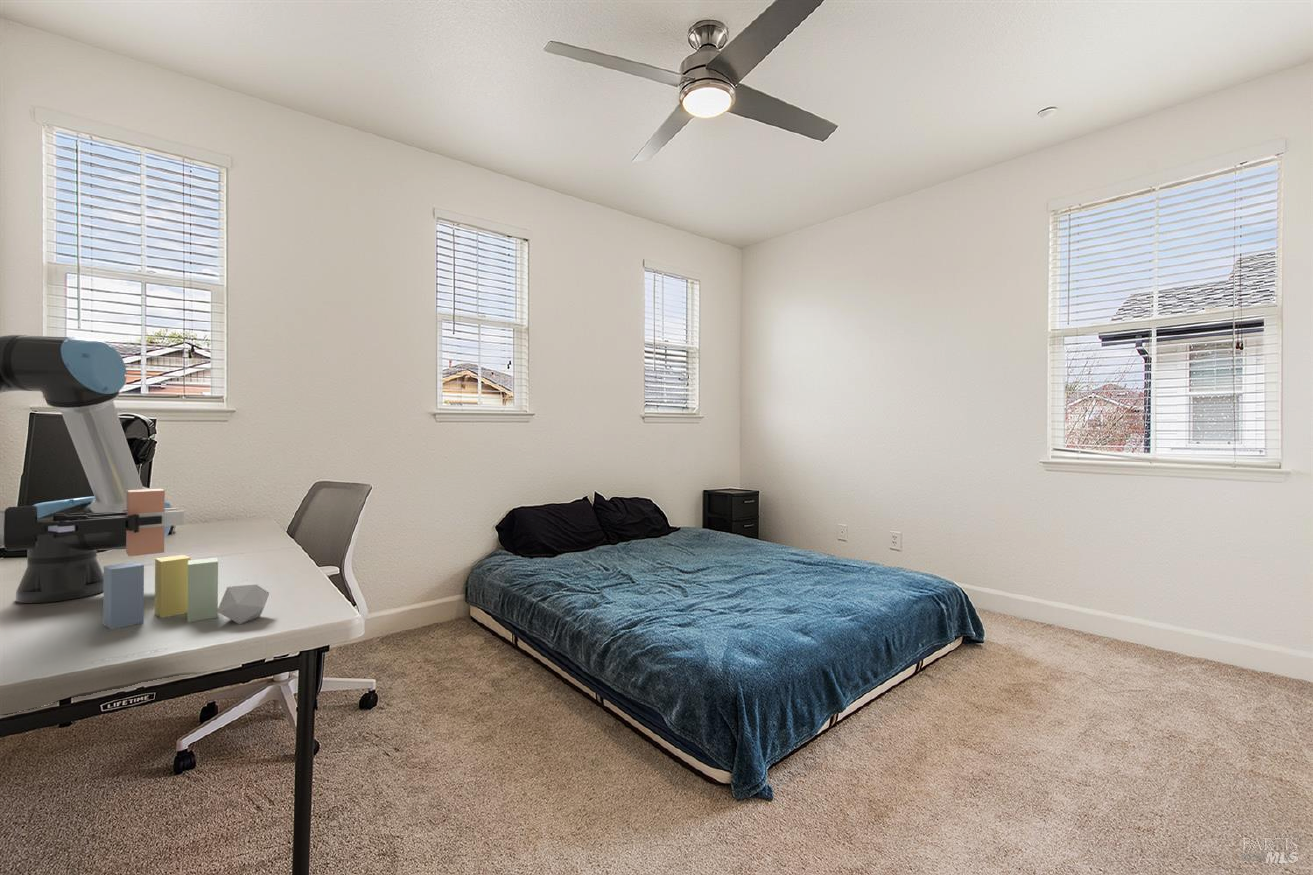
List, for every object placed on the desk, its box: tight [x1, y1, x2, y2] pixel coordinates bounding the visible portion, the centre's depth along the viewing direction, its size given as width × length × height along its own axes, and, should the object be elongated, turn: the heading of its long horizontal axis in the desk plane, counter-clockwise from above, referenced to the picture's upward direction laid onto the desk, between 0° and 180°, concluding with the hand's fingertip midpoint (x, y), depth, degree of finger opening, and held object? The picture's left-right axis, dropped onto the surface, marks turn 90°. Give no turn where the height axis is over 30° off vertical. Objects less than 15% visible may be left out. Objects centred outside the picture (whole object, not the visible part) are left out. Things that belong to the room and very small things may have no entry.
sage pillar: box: [186, 557, 219, 623], centre depth 122 cm, size 5×5×12 cm
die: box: [217, 580, 270, 625], centre depth 120 cm, size 8×9×10 cm
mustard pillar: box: [154, 554, 192, 619], centre depth 124 cm, size 5×5×12 cm
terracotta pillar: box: [125, 488, 166, 557], centre depth 109 cm, size 5×5×12 cm
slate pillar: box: [102, 561, 145, 630], centre depth 117 cm, size 5×5×12 cm
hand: (180, 515), depth 113 cm, fingers closed on terracotta pillar, 5 cm apart
